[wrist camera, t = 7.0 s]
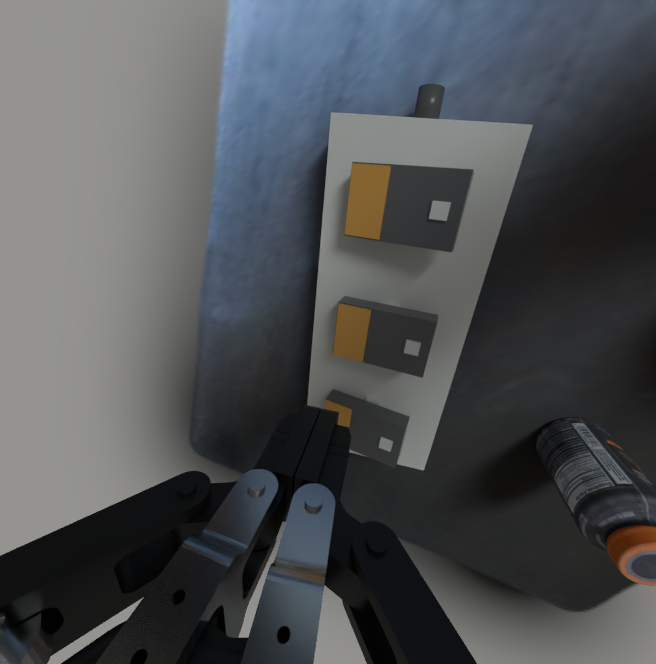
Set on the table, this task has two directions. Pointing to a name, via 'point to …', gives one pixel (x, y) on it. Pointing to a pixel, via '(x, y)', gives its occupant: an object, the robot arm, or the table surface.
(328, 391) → the power strip
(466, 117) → the table surface
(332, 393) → the rocker
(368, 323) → the block
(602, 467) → the pill bottle
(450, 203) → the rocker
